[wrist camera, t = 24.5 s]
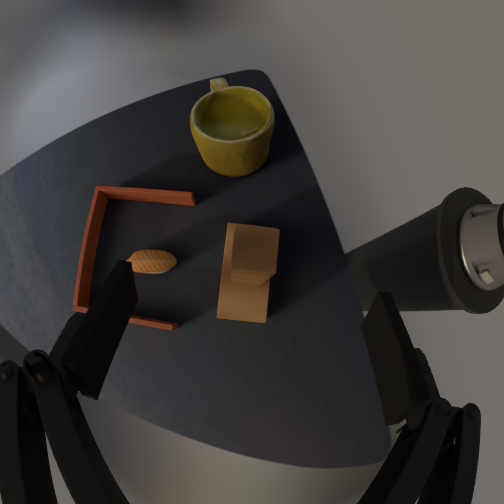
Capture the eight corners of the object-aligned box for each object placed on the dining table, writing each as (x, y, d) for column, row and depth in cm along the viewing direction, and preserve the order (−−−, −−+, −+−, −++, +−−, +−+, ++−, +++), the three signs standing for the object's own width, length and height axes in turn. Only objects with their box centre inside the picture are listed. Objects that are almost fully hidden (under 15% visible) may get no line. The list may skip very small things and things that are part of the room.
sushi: (178, 273, 32) (173, 270, 29) (128, 275, 32) (118, 272, 29) (178, 251, 32) (173, 245, 30) (128, 253, 32) (119, 248, 29)
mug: (291, 177, 33) (273, 119, 24) (211, 196, 35) (173, 148, 26) (276, 112, 38) (259, 59, 29) (210, 130, 40) (182, 83, 31)
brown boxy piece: (228, 230, 33) (225, 170, 18) (270, 235, 34) (299, 179, 18) (218, 316, 31) (205, 326, 16) (262, 321, 32) (288, 334, 16)
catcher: (195, 201, 34) (192, 192, 31) (177, 328, 31) (172, 330, 28) (105, 194, 33) (96, 185, 30) (84, 309, 30) (72, 309, 27)
